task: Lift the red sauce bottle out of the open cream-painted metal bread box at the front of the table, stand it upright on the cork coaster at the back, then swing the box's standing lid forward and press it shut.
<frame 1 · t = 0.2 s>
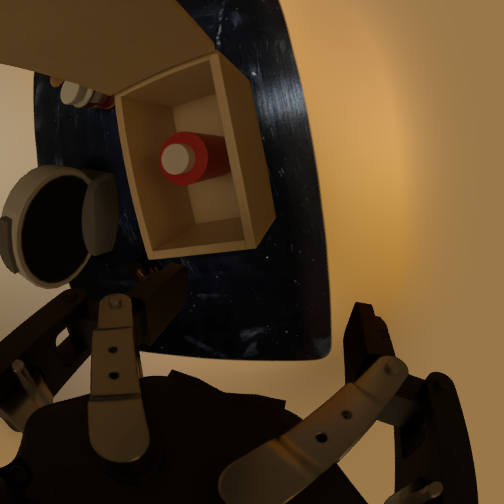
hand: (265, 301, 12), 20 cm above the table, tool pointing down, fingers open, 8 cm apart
pill bottle: (111, 94, 30), on the table
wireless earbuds: (163, 273, 38), on the table
alarm clock: (96, 209, 37), on the table
coaster: (60, 72, 30), on the table
breadbox lid: (84, 27, 9), point 20 cm above the table, hinge at 100.0°
sauce bottle: (217, 156, 30), point 1 cm above the table, touching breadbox
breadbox: (219, 156, 30), on the table
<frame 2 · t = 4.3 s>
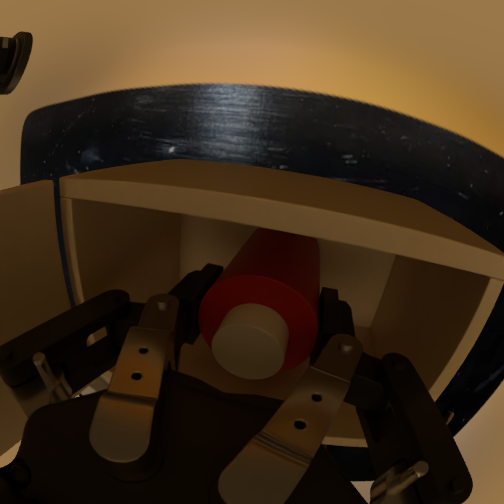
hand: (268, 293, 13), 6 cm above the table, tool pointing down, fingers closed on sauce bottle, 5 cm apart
pill bottle: (135, 347, 27), on the table
fountain pen: (424, 435, 23), on the table
sauce bottle: (283, 253, 18), point 1 cm above the table, touching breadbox, gripper
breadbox: (284, 249, 19), on the table
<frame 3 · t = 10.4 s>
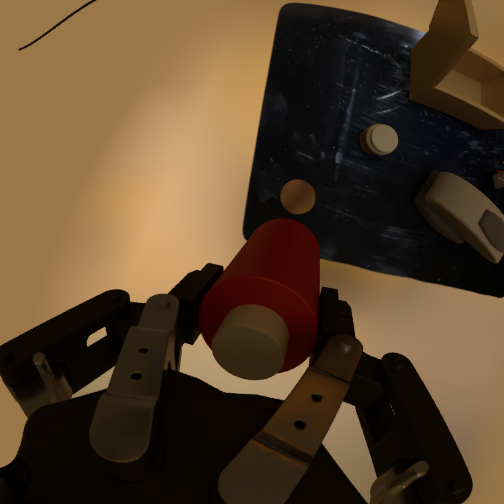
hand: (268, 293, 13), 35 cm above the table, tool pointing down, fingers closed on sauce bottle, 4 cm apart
pill bottle: (372, 141, 39), on the table
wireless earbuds: (496, 172, 34), on the table
alarm clock: (445, 205, 39), on the table
coaster: (298, 196, 46), on the table
breadbox lid: (447, 29, 15), point 20 cm above the table, hinge at 100.0°
sauce bottle: (283, 253, 18), point 30 cm above the table, touching gripper
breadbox: (449, 89, 31), on the table
when the fingers open (6 cm above the table, at t = 17.0 s): sauce bottle stays where it is, resting on coaster.
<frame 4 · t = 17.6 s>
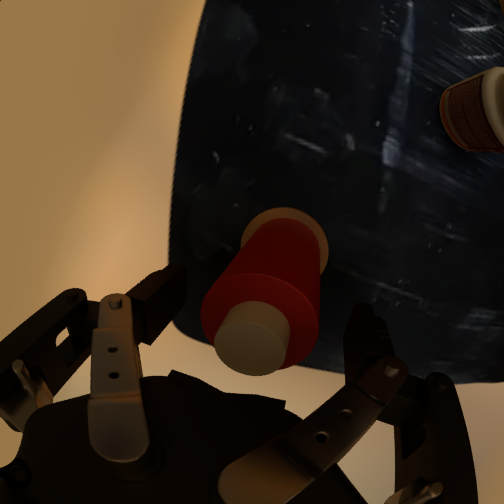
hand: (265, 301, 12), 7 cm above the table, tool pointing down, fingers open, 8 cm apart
pill bottle: (463, 117, 12), on the table
coaster: (284, 250, 19), on the table
sauce bottle: (284, 252, 18), resting on coaster
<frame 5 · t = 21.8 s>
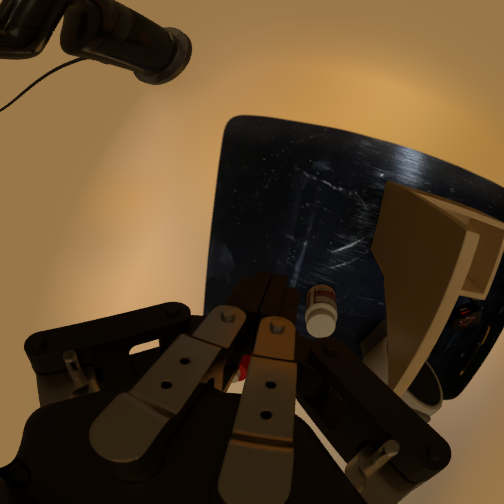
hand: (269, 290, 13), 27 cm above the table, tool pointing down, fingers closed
pill bottle: (321, 296, 43), on the table
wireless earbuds: (463, 306, 37), on the table
alarm clock: (394, 344, 43), on the table
breadbox lid: (412, 269, 18), point 20 cm above the table, hinge at 100.0°
fountain pen: (473, 348, 39), on the table
sauce bottle: (245, 340, 49), resting on coaster
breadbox: (426, 227, 35), on the table
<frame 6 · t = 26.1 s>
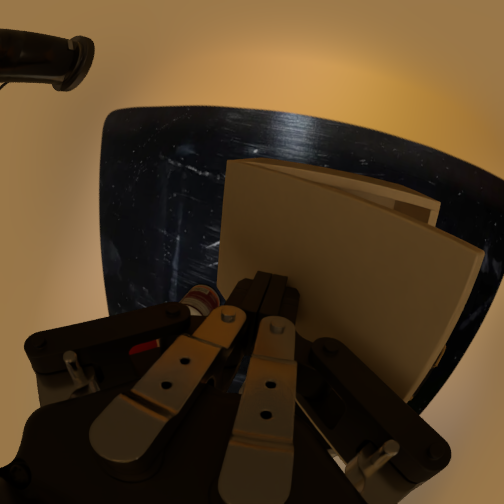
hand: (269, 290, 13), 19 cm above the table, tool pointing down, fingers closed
pill bottle: (205, 297, 38), on the table
alarm clock: (308, 360, 38), on the table
breadbox lid: (282, 280, 14), point 18 cm above the table, hinge at 52.0°, touching gripper
fountain pen: (425, 370, 34), on the table
sauce bottle: (146, 340, 44), resting on coaster
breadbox: (326, 214, 30), on the table
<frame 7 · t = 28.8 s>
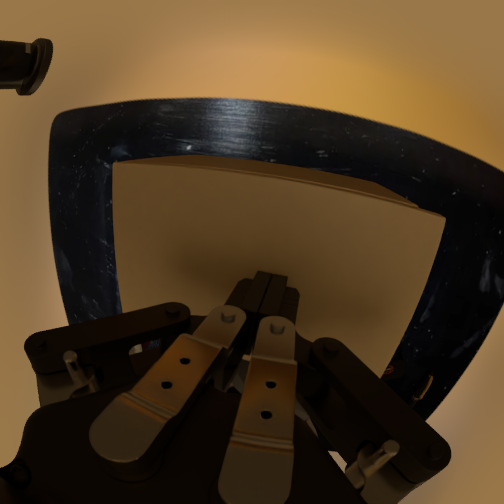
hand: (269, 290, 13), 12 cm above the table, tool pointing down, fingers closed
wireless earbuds: (378, 347, 27), on the table
alarm clock: (267, 387, 33), on the table
breadbox lid: (249, 279, 14), point 12 cm above the table, hinge at 2.8°, touching gripper
fountain pen: (408, 401, 29), on the table
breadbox: (275, 222, 25), on the table
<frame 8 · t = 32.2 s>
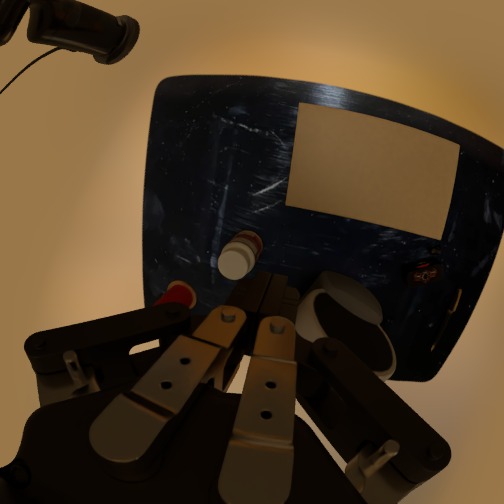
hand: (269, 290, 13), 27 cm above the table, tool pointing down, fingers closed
pill bottle: (248, 244, 42), on the table
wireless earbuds: (422, 262, 37), on the table
alarm clock: (341, 305, 42), on the table
coaster: (182, 294, 49), on the table
breadbox lid: (378, 170, 24), point 11 cm above the table, hinge at 1.1°
fountain pen: (444, 318, 38), on the table
sauce bottle: (181, 295, 48), resting on coaster
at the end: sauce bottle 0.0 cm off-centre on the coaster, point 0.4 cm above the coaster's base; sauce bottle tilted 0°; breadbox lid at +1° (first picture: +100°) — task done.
